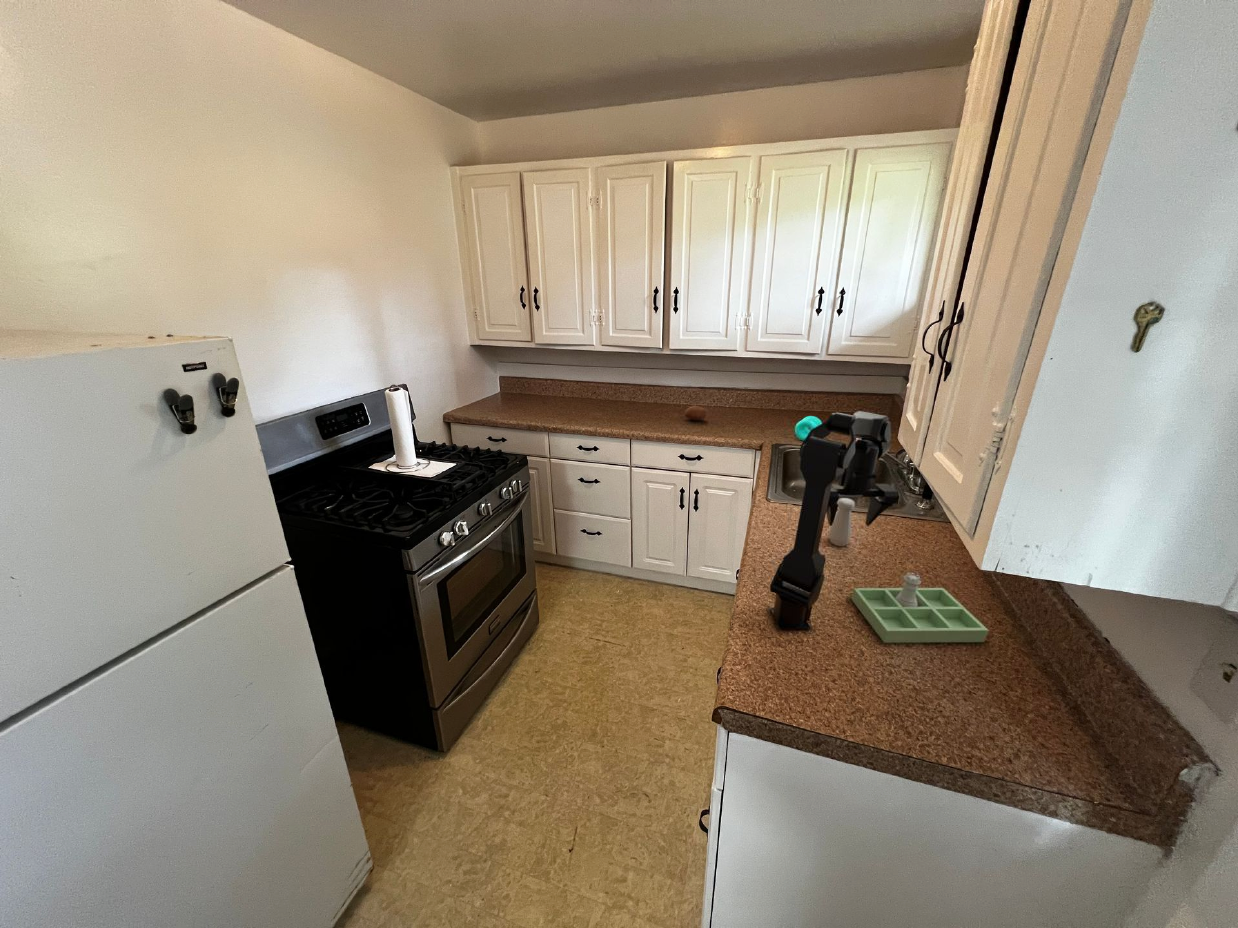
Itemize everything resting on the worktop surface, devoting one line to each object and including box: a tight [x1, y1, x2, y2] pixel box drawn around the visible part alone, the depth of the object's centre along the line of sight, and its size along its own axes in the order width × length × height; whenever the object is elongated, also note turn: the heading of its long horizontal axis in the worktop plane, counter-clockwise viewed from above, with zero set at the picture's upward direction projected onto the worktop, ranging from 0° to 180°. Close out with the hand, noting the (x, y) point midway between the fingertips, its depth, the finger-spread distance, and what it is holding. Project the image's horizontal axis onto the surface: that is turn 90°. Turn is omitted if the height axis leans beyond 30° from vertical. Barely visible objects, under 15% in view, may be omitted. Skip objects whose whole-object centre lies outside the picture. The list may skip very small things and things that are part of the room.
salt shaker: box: [827, 497, 856, 547], centre depth 130 cm, size 6×6×13 cm
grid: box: [850, 587, 989, 644], centre depth 102 cm, size 21×14×3 cm
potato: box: [684, 405, 707, 422], centre depth 243 cm, size 8×11×8 cm
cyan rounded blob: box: [794, 415, 823, 442], centre depth 216 cm, size 10×10×10 cm
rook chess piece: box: [895, 572, 922, 607], centre depth 104 cm, size 4×4×8 cm
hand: (848, 525), depth 117 cm, fingers open, 9 cm apart
